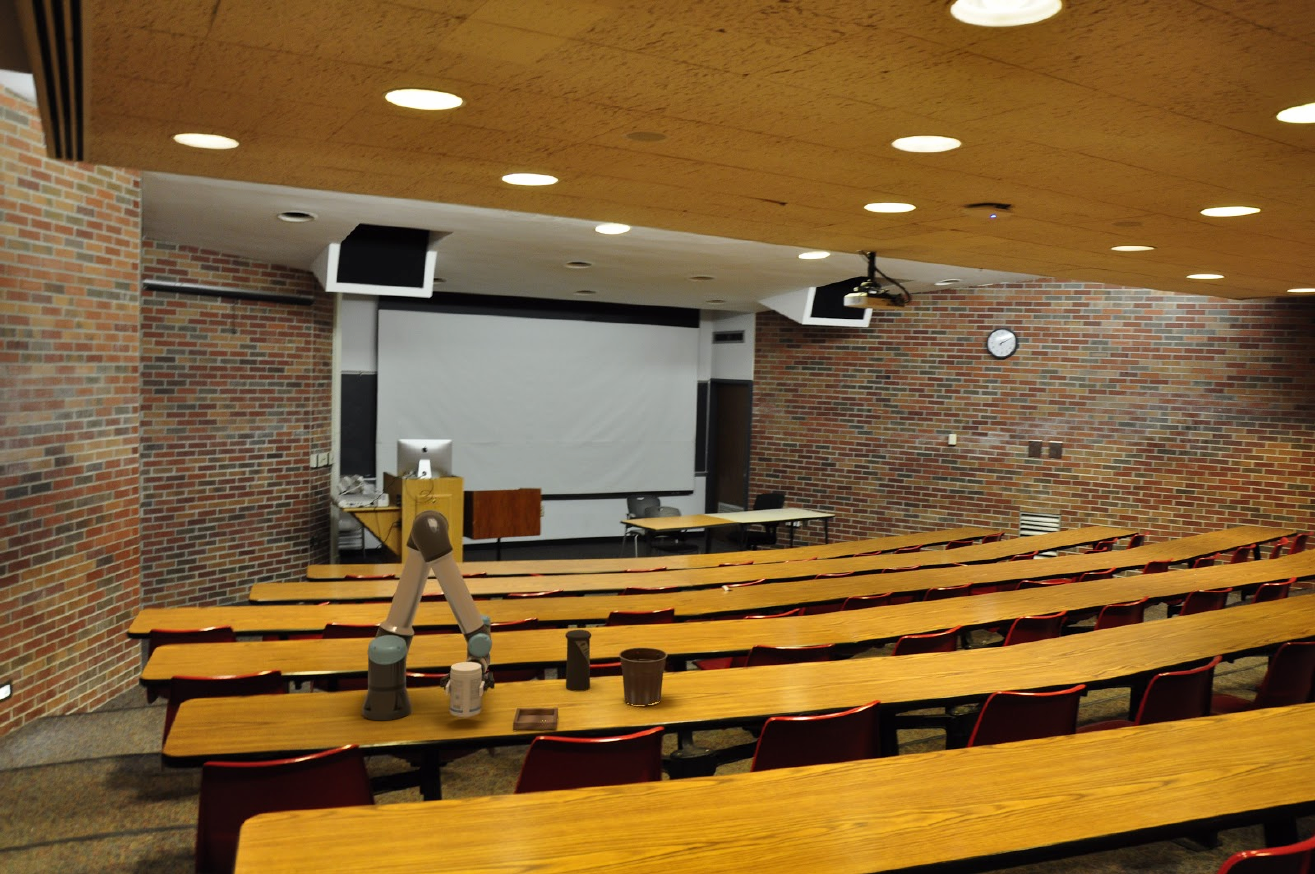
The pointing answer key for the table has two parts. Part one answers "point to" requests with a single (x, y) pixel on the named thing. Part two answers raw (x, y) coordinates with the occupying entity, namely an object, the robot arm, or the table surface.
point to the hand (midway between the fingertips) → (463, 691)
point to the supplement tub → (465, 689)
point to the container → (578, 660)
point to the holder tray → (535, 719)
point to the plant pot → (642, 674)
